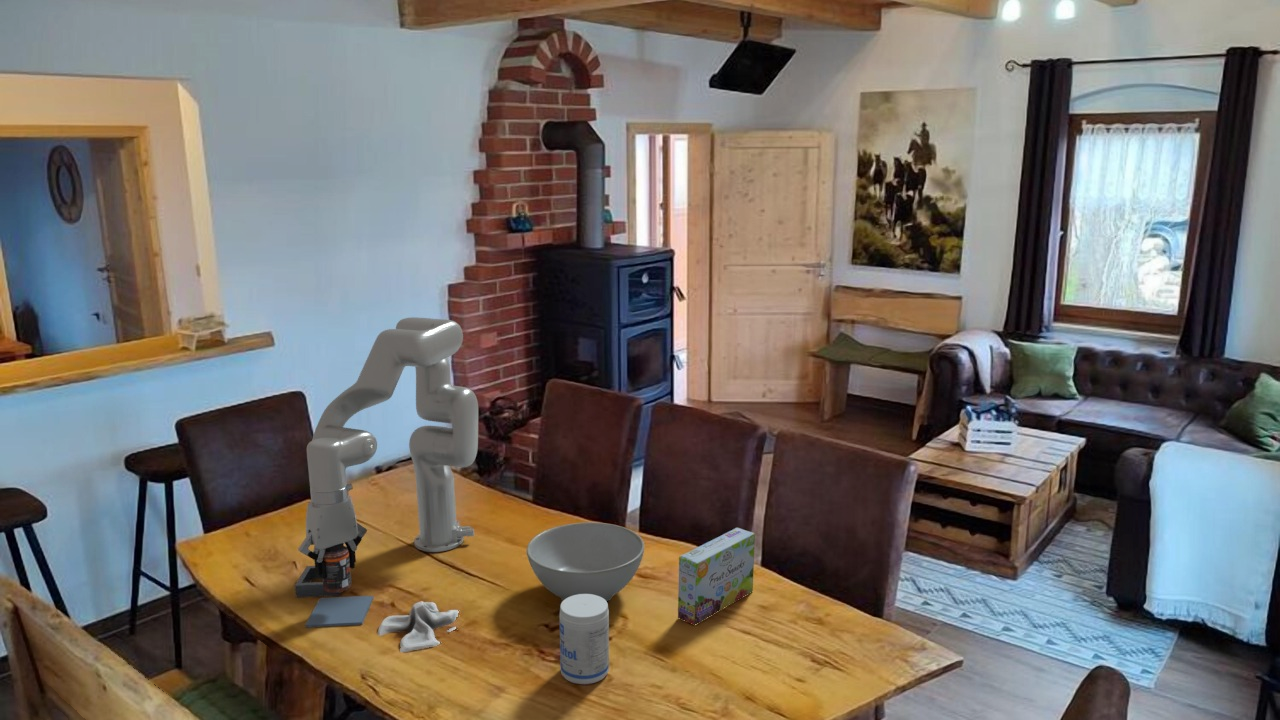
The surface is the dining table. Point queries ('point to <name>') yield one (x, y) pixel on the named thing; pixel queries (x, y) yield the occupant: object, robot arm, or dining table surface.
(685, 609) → the snack box
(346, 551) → the supplement bottle
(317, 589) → the collar
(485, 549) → the dining table surface
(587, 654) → the supplement tub
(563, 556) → the decorative bowl
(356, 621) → the board
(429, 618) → the cloth
